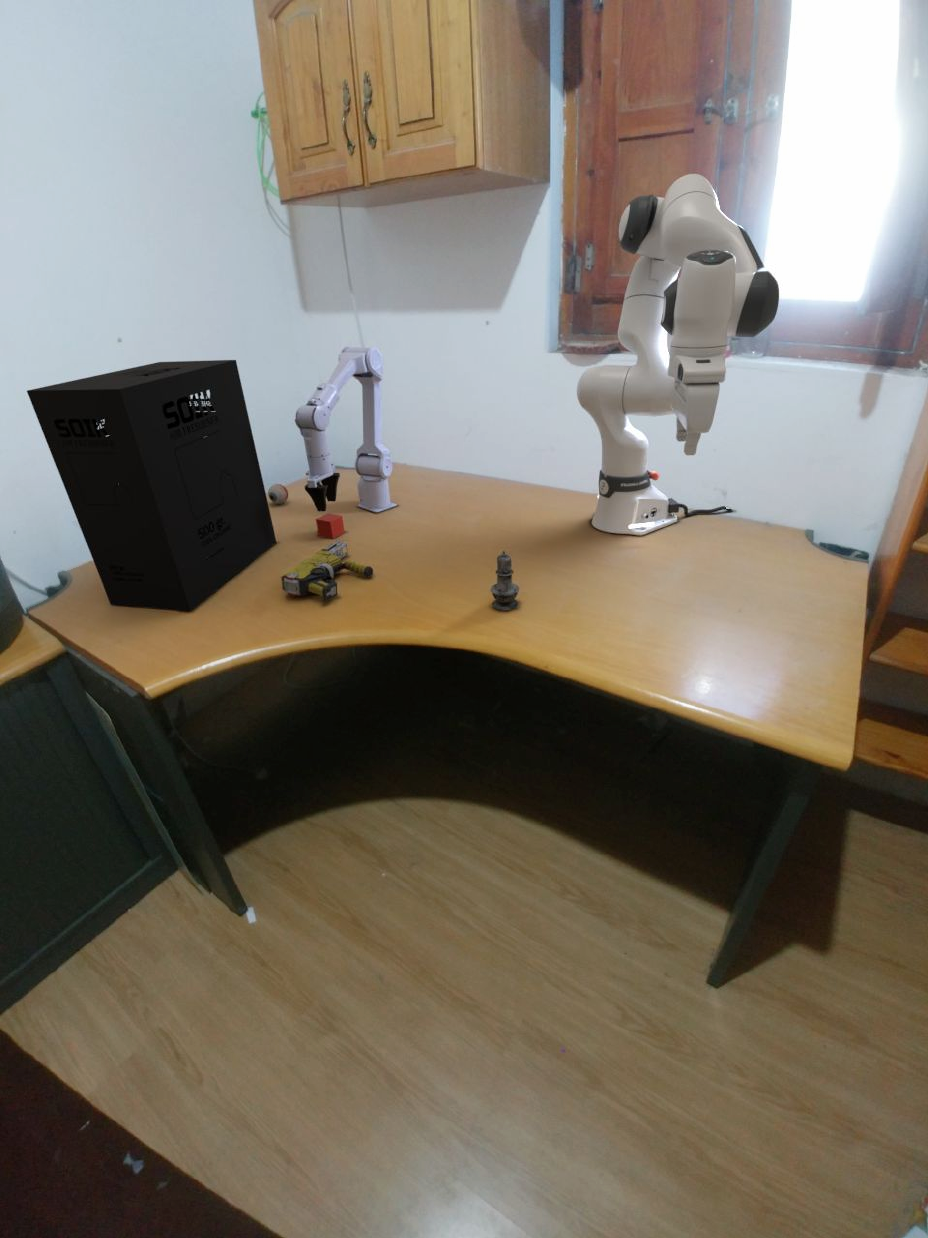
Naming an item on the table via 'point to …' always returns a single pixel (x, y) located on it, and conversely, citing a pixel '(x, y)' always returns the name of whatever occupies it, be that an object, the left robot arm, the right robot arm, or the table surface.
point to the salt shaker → (504, 585)
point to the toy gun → (321, 572)
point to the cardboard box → (160, 478)
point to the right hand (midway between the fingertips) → (685, 447)
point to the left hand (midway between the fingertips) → (327, 505)
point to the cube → (330, 525)
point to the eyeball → (278, 493)
